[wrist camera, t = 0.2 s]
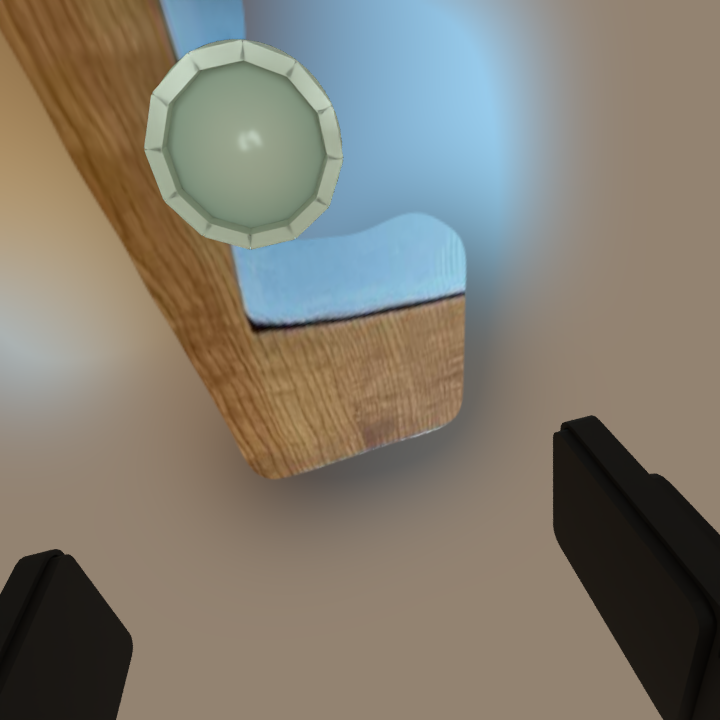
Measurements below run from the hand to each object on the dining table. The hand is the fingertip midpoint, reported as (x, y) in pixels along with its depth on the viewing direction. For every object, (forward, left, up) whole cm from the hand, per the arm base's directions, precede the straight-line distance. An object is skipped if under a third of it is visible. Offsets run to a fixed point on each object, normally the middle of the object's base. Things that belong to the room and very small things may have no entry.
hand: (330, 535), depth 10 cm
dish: (-4, -2, -31) cm, 31 cm away
